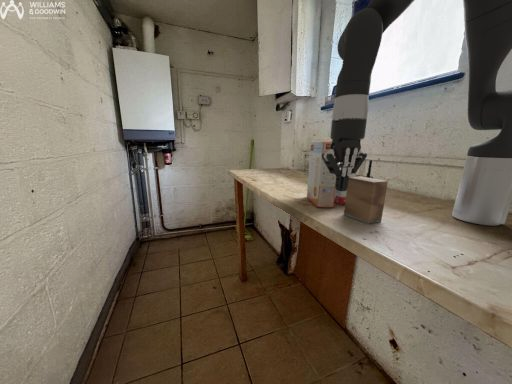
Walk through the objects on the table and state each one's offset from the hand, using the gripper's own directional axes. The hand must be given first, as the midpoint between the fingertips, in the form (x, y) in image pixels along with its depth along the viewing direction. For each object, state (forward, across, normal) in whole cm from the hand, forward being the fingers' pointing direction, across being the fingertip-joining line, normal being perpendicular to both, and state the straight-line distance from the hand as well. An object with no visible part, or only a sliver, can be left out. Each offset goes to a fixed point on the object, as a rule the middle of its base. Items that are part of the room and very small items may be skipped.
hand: (340, 190), depth 52 cm
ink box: (+9, -16, -15) cm, 24 cm away
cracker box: (+9, -8, -17) cm, 21 cm away
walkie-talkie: (+9, -23, -10) cm, 27 cm away
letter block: (+9, -9, 0) cm, 12 cm away
